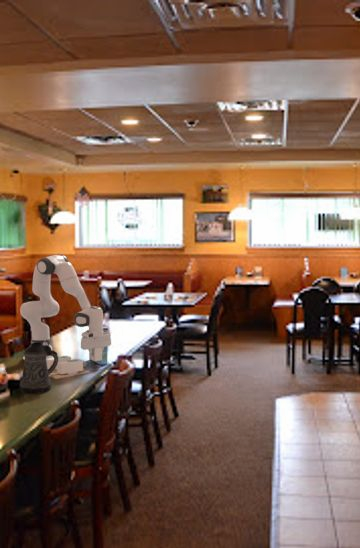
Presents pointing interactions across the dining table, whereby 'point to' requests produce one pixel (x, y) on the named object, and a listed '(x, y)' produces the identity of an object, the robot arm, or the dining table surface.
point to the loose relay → (84, 364)
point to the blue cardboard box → (104, 355)
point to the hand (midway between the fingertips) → (96, 354)
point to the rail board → (66, 367)
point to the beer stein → (37, 369)
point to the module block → (97, 354)
